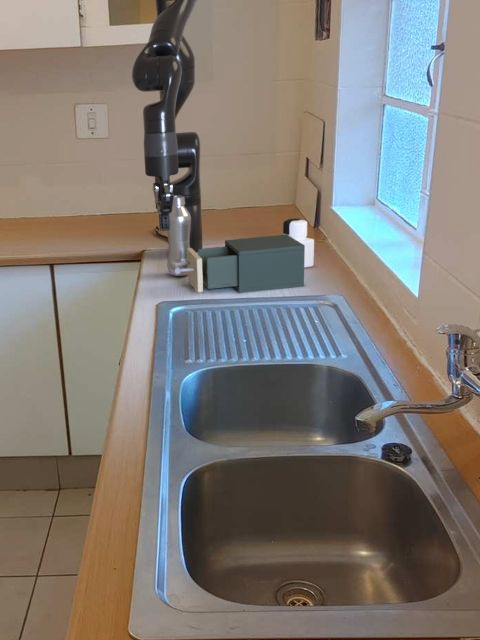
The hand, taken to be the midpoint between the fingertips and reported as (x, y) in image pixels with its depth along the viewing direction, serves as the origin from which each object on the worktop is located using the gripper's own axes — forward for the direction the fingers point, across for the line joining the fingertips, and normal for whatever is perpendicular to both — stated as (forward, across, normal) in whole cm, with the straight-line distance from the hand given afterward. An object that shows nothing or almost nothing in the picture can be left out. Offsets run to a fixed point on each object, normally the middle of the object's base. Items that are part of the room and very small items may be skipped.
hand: (164, 230), depth 174 cm
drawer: (+14, 0, -11) cm, 18 cm away
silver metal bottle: (+15, +14, -6) cm, 22 cm away
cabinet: (+15, 0, -24) cm, 28 cm away
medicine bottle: (+15, +12, -36) cm, 41 cm away
